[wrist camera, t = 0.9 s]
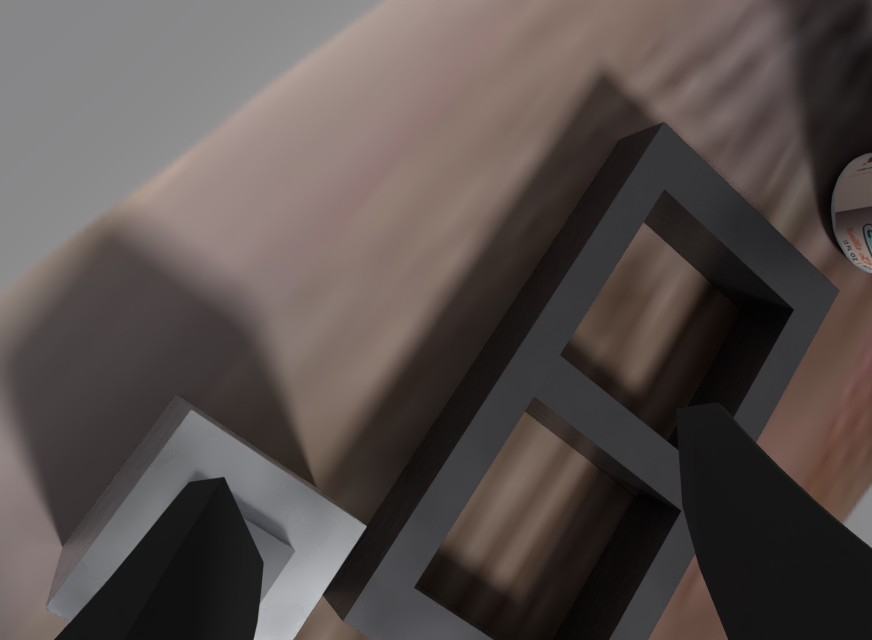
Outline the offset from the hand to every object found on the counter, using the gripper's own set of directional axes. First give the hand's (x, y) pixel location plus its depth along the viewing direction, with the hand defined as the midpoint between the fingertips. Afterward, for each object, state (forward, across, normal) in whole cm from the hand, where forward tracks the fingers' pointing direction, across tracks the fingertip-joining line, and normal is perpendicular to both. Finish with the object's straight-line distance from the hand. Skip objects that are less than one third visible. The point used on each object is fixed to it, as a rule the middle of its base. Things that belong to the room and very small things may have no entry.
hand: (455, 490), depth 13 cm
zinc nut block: (+7, +9, +6) cm, 13 cm away
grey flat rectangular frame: (+12, -3, +10) cm, 16 cm away
